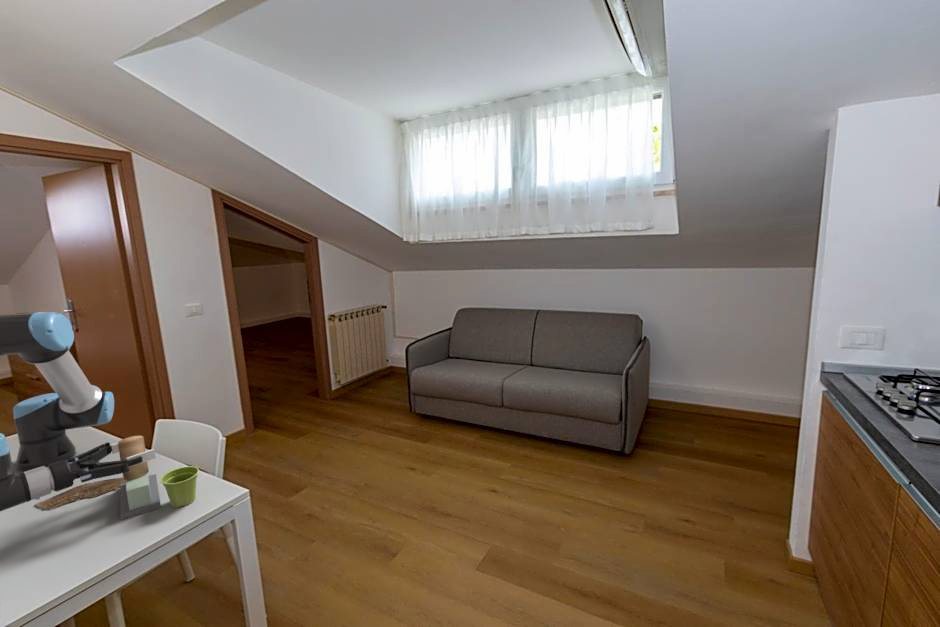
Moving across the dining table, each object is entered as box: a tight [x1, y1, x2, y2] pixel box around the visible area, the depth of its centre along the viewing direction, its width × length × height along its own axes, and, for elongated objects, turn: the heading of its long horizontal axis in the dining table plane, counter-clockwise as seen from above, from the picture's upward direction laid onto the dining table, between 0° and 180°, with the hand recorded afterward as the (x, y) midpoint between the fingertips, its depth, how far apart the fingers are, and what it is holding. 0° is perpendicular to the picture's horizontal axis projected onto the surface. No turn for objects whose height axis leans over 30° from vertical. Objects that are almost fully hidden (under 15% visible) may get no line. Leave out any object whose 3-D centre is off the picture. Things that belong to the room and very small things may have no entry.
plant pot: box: [160, 465, 200, 508], centre depth 126 cm, size 9×9×9 cm
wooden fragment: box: [33, 476, 126, 511], centre depth 133 cm, size 26×11×1 cm, turn 128°
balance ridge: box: [119, 472, 162, 521], centre depth 129 cm, size 20×9×8 cm, turn 39°
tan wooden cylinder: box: [117, 435, 149, 480], centre depth 127 cm, size 6×6×11 cm
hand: (146, 446), depth 129 cm, fingers open, 13 cm apart
